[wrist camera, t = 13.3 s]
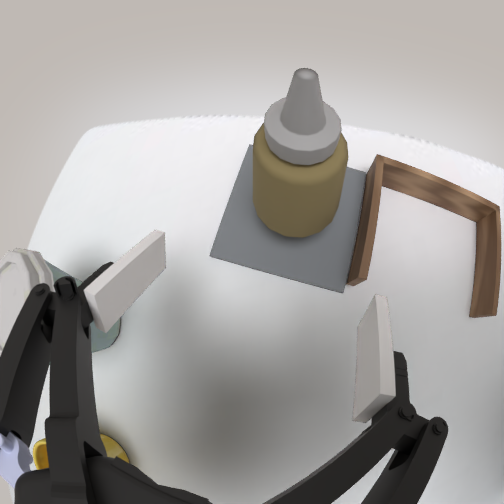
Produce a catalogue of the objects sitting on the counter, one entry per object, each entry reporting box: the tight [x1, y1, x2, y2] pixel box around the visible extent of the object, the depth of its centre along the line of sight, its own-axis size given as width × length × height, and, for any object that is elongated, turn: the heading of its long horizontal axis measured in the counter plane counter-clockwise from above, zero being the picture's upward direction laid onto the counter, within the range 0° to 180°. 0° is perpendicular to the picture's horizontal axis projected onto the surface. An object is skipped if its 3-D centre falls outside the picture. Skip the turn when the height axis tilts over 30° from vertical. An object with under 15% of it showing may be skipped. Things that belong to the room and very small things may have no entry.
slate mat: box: [210, 144, 366, 293], centre depth 29 cm, size 14×14×1 cm
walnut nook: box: [347, 154, 501, 318], centre depth 24 cm, size 18×13×4 cm
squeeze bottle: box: [253, 68, 348, 238], centre depth 20 cm, size 8×8×18 cm
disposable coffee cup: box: [0, 248, 120, 365], centre depth 21 cm, size 11×11×15 cm
